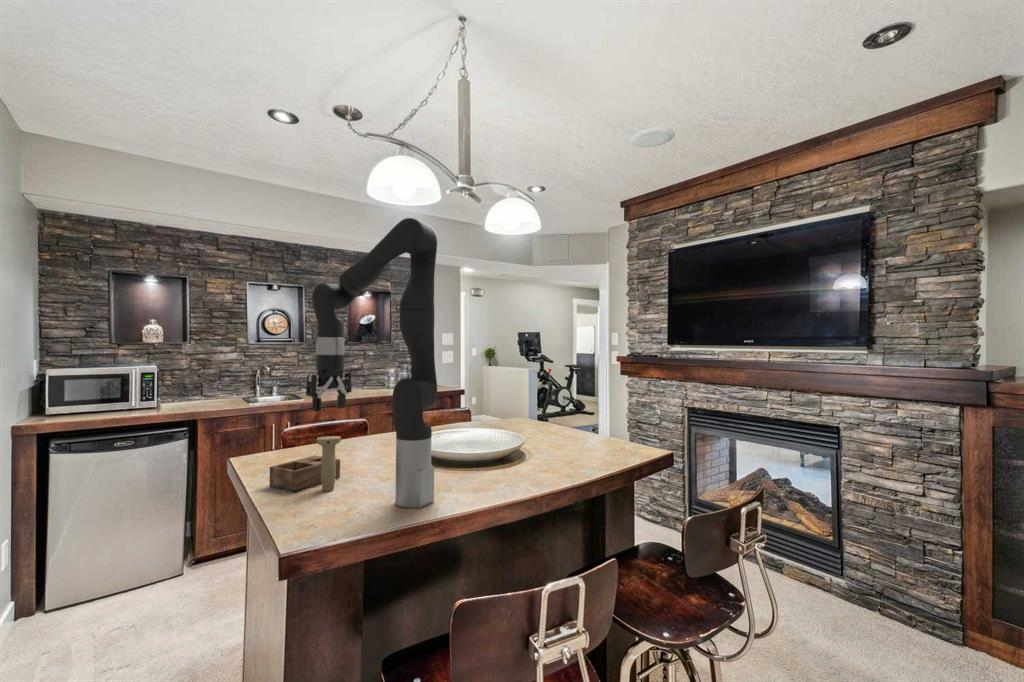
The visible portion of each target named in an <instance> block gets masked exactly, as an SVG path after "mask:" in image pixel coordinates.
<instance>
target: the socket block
mask: <svg viewBox="0 0 1024 682" xmlns="http://www.w3.org/2000/svg"><path fill="white" fill-rule="evenodd" d="M321 463H322V455H312V456H308V457H304V458H299V459H297V460H296V459H295V460H292V461H288V462H284V463H280V464H276V465H273V466H269V487H270V489H274V488H275V489H274V490H278V489H280V490H279V491H283V490H285V492H288V491H289V492H288V493H292V492H293V494H297V493H300V492H299V491H301V492H303V491H302V490H304V491H306V490H305V489H307V488H310V489H312V488H311V487H313V488H315V487H314V486H316V487H318V486H317V485H319V486H321V485H320V484H322V483H321ZM335 463H336V477H335V479H337V480H339V479H338V478H341V458H340V459H339V458H335ZM307 490H308V489H307Z"/></svg>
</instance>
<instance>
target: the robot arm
mask: <svg viewBox="0 0 1024 682" xmlns="http://www.w3.org/2000/svg"><path fill="white" fill-rule="evenodd" d="M437 249H438V238H437V234H436V231H435V229H434V228H433V227H432V226H431V225H429V224H427V223H425V222H423V221H421V220H420V219H417V218H414V217H406V218H403V219H401V221H399V222H398V223H397V224H396V225H395V226H393V228H391V229H390V231H389V232H388V233H387V234H386V235H385V236H384V237H383V238H382V239H380V241H379V242H378V243H377V244H376V245H375V246H374V247H373V248H372V249H371V250H370V251H369V252H367V253H366V255H365V256H363V257H362V258H360V259H359V260H358V261H357V262H355V263H353V265H351V266H350V267H348V268H347V269H346V270H345V271H343V272H342V273H341V274H340V275H339V277H338V278H339V279H338V280H339V283H338V284H332V283H328V282H320V283H318V284H317V285H315V287H314V288H313V290H312V295H311V303H312V307H313V311H314V315H315V319H316V322H317V338H316V339H317V340H316V345H315V346H316V349H315V350H316V351H315V369H316V370H317V373H316V374H311V373H310V374H307V375H306V387H305V388H306V389H305V395H306V396H307V397H311V399H312V404H311V405H312V407H311V408H312V410H313V412H317V413H318V412H322V398H321V397H322V396H323V394H324V393H325V392H326V391H327V390H330V389H333V390H335V391H336V393H337V394H338V395H337V402H336V403H337V405H336V406H337V408H338V409H344V408H345V406H346V401H347V400H346V396H347V395H348V394H349V393H352V373H351V372H343V370H344V369H345V341H344V336H345V335H344V333H345V332H344V330H345V326H344V320H343V319H342V318H341V317H338V316H337V315H336V312H335V310H342V309H344V308H346V307H348V306H349V305H350V304H351V303H352V302H353V301H354V299H355V298H356V297H358V295H359V293H360V292H362V291H364V290H365V289H367V288H368V287H369V286H371V285H372V284H373V283H375V282H376V281H377V280H378V279H379V278H380V276H381V275H382V273H383V272H384V270H385V268H386V267H387V265H388V264H389V263H390V262H391V261H393V260H394V259H396V258H397V257H399V256H402V255H403V254H409V256H410V257H409V258H410V274H409V278H408V281H407V284H406V286H405V288H404V291H403V293H402V295H401V299H400V302H399V330H400V333H401V336H402V339H403V341H404V343H405V346H406V348H407V350H408V353H409V356H410V364H411V365H410V368H411V369H410V370H411V371H410V372H411V373H410V377H404V378H402V379H401V378H400V380H399V381H397V382H396V383H395V385H394V387H393V391H392V397H391V398H392V399H391V400H392V402H391V403H392V423H393V427H394V431H395V499H394V501H395V502H394V503H395V505H396V506H398V507H400V508H410V509H411V508H416V509H417V508H418V509H420V508H423V507H425V506H426V505H430V504H431V503H433V502H434V501H435V466H434V465H432V437H433V436H432V434H433V433H432V431H433V430H432V426H431V425H429V424H427V423H426V422H425V421H424V411H425V410H428V409H430V408H432V407H433V406H434V404H435V402H436V401H437V398H438V382H437V372H436V361H435V272H436V271H435V269H436V259H437V251H438V250H437Z"/></svg>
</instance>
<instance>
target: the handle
mask: <svg viewBox="0 0 1024 682" xmlns="http://www.w3.org/2000/svg"><path fill="white" fill-rule="evenodd" d="M341 439H342V436H340V435H339V436H338V435H332V436H330V435H328V436H327V435H326V436H320V437H319V436H318V437H317V438H316V443H317V445H318V446H319V445H320V446H321V449H322V450H321V451H322V453H321V456H322V463H321V483H322V485H321V486H322V487H321V491H323V492H327V491H328V492H332V491H334V490H335V483H336V480H335V477H336V463H335V459H336V446H337V445H338V444H339V443H340V442H341V441H342V440H341ZM331 490H332V491H331Z"/></svg>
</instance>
